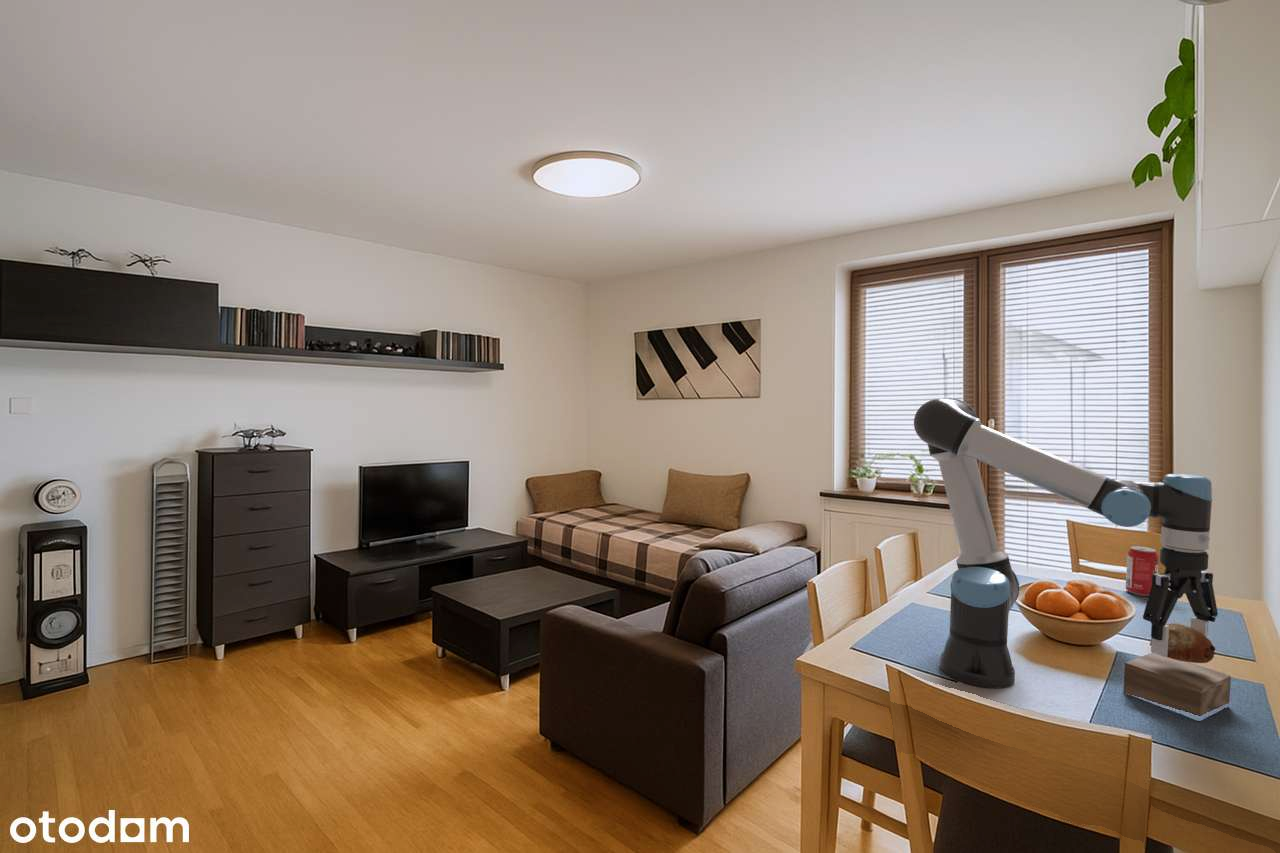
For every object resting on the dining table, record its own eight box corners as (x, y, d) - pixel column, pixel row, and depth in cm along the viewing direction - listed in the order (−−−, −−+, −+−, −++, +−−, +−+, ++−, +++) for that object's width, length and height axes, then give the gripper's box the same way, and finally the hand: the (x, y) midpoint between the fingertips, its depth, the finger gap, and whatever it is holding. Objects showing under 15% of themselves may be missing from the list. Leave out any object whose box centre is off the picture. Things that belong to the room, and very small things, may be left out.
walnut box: (1199, 723, 120) (1201, 689, 119) (1123, 693, 131) (1125, 662, 131) (1228, 708, 126) (1231, 675, 125) (1153, 681, 137) (1155, 651, 137)
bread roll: (1159, 658, 134) (1140, 622, 136) (1218, 650, 128) (1197, 612, 130) (1161, 674, 126) (1141, 635, 128) (1223, 666, 120) (1201, 626, 122)
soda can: (1119, 590, 201) (1122, 546, 200) (1136, 588, 203) (1138, 544, 202) (1145, 598, 193) (1148, 552, 192) (1162, 596, 196) (1165, 550, 195)
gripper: (1162, 556, 120) (1156, 665, 121) (1245, 549, 126) (1239, 653, 127) (1124, 547, 128) (1119, 649, 129) (1203, 541, 133) (1198, 639, 134)
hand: (1178, 651), depth 128 cm, fingers closed on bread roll, 10 cm apart
